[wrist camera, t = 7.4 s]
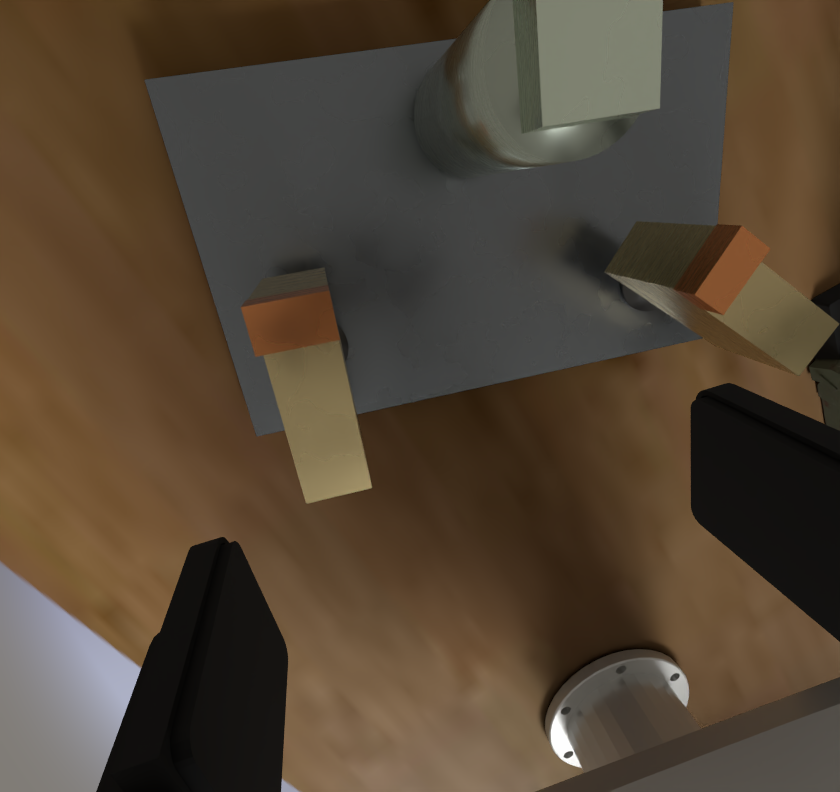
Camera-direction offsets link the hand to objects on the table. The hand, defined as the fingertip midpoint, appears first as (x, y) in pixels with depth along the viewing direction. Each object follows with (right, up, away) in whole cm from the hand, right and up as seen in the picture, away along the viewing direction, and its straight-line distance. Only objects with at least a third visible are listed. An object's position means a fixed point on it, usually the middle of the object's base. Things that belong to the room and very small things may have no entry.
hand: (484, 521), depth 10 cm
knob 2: (+11, +8, +17) cm, 22 cm away
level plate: (+1, +11, +16) cm, 20 cm away
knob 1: (-6, +5, +14) cm, 16 cm away
